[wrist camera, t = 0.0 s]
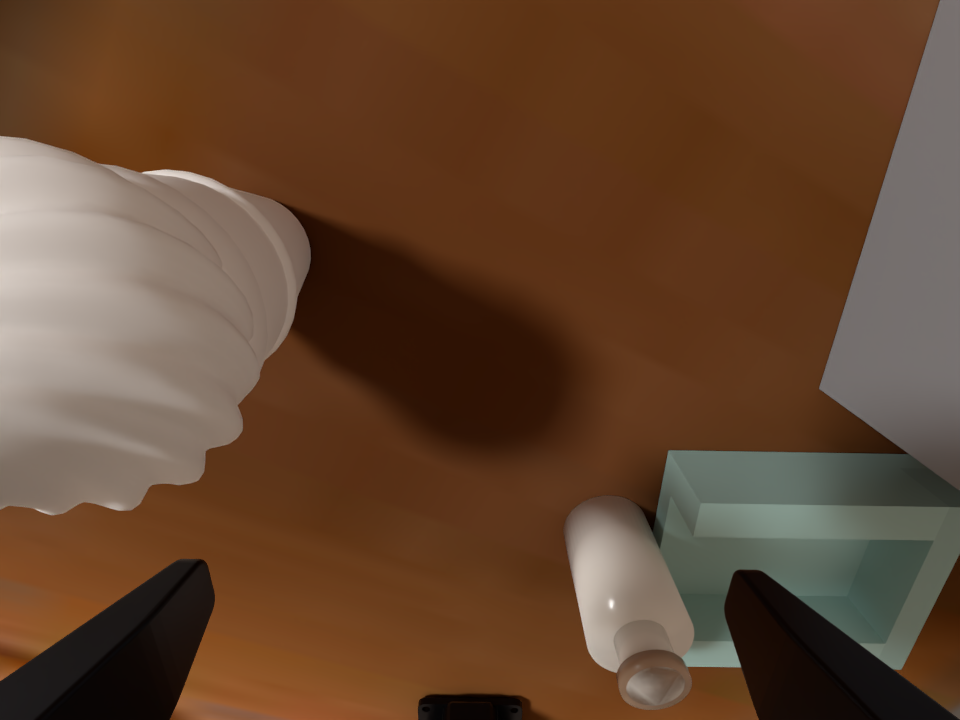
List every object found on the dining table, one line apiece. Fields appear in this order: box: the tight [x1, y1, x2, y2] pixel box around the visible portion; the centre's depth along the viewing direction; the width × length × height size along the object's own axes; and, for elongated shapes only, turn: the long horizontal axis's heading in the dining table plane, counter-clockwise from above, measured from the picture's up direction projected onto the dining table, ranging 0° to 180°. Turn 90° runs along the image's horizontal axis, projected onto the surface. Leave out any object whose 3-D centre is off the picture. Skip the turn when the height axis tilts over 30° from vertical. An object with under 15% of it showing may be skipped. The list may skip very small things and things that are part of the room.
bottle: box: [564, 495, 694, 710], centre depth 23 cm, size 4×4×8 cm
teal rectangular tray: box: [653, 450, 960, 669], centre depth 25 cm, size 10×12×4 cm
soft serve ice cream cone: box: [0, 136, 311, 515], centre depth 14 cm, size 8×8×16 cm
